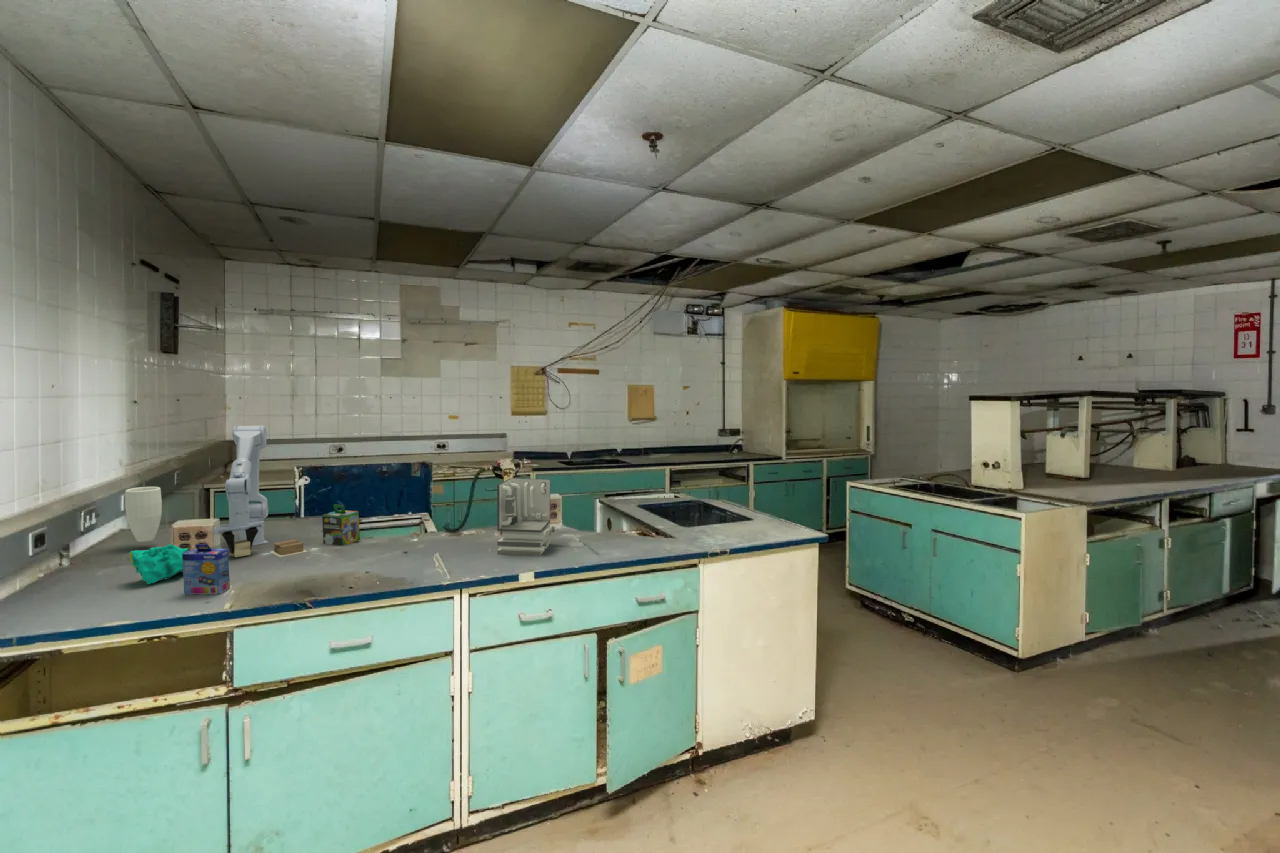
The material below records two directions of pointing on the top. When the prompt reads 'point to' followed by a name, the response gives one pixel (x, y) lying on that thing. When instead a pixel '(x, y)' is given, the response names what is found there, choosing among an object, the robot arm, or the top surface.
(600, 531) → the top surface
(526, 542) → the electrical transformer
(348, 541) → the chalk box
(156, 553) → the teal lumpy piece
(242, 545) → the maple cube
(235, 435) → the robot arm
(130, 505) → the cup
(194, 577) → the ink cartridge box
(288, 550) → the brown square wooden block
